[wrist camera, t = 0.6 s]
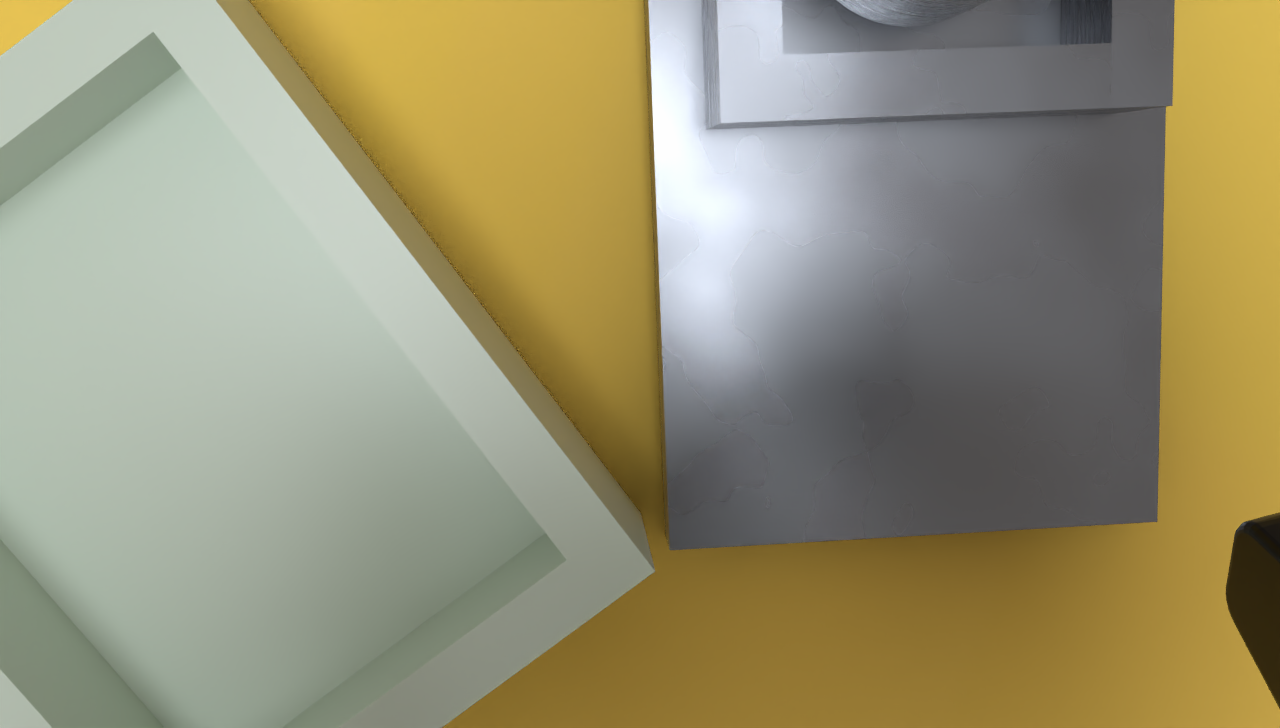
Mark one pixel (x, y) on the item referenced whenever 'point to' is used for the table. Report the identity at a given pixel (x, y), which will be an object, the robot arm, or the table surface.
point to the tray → (257, 408)
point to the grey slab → (906, 267)
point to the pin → (909, 10)
